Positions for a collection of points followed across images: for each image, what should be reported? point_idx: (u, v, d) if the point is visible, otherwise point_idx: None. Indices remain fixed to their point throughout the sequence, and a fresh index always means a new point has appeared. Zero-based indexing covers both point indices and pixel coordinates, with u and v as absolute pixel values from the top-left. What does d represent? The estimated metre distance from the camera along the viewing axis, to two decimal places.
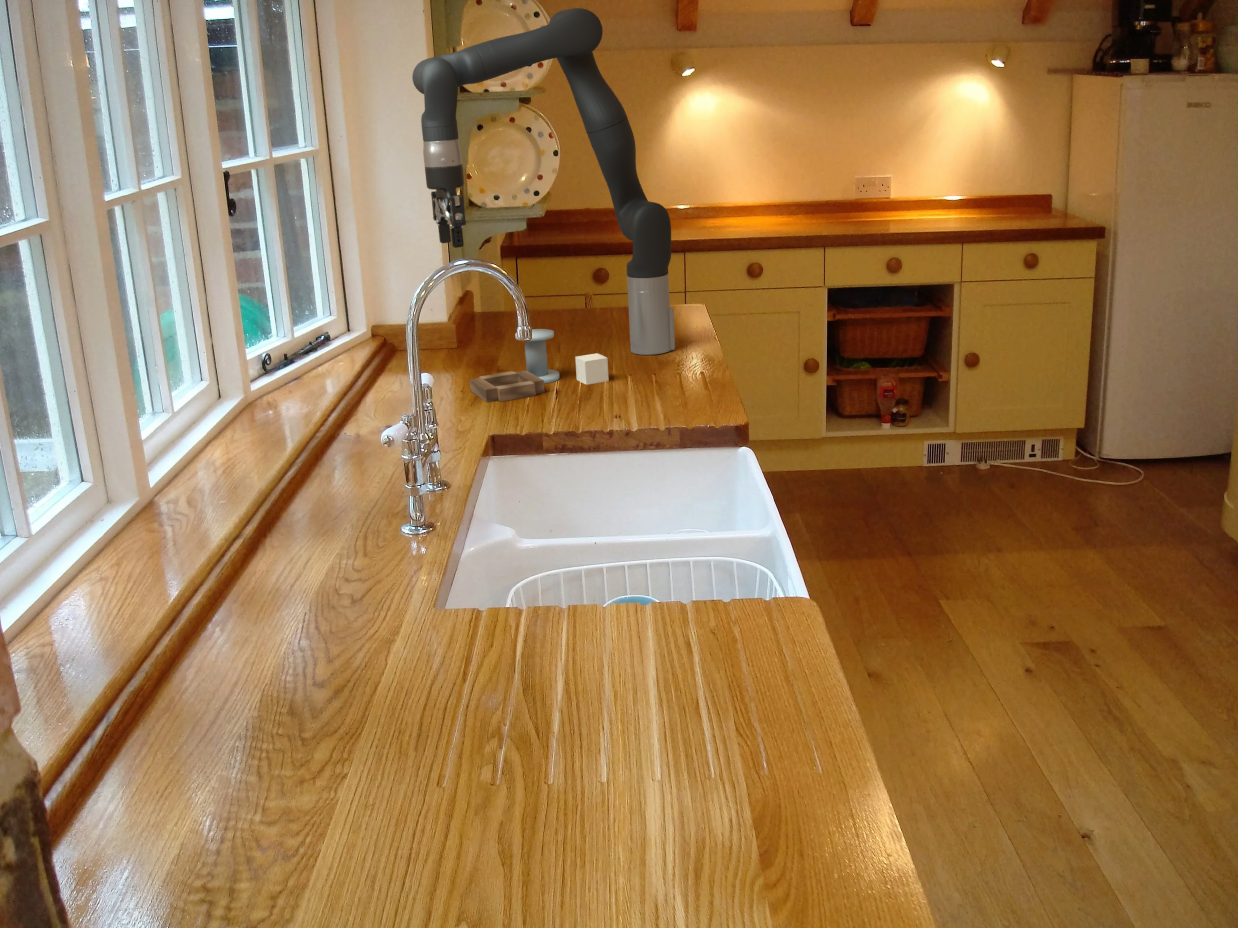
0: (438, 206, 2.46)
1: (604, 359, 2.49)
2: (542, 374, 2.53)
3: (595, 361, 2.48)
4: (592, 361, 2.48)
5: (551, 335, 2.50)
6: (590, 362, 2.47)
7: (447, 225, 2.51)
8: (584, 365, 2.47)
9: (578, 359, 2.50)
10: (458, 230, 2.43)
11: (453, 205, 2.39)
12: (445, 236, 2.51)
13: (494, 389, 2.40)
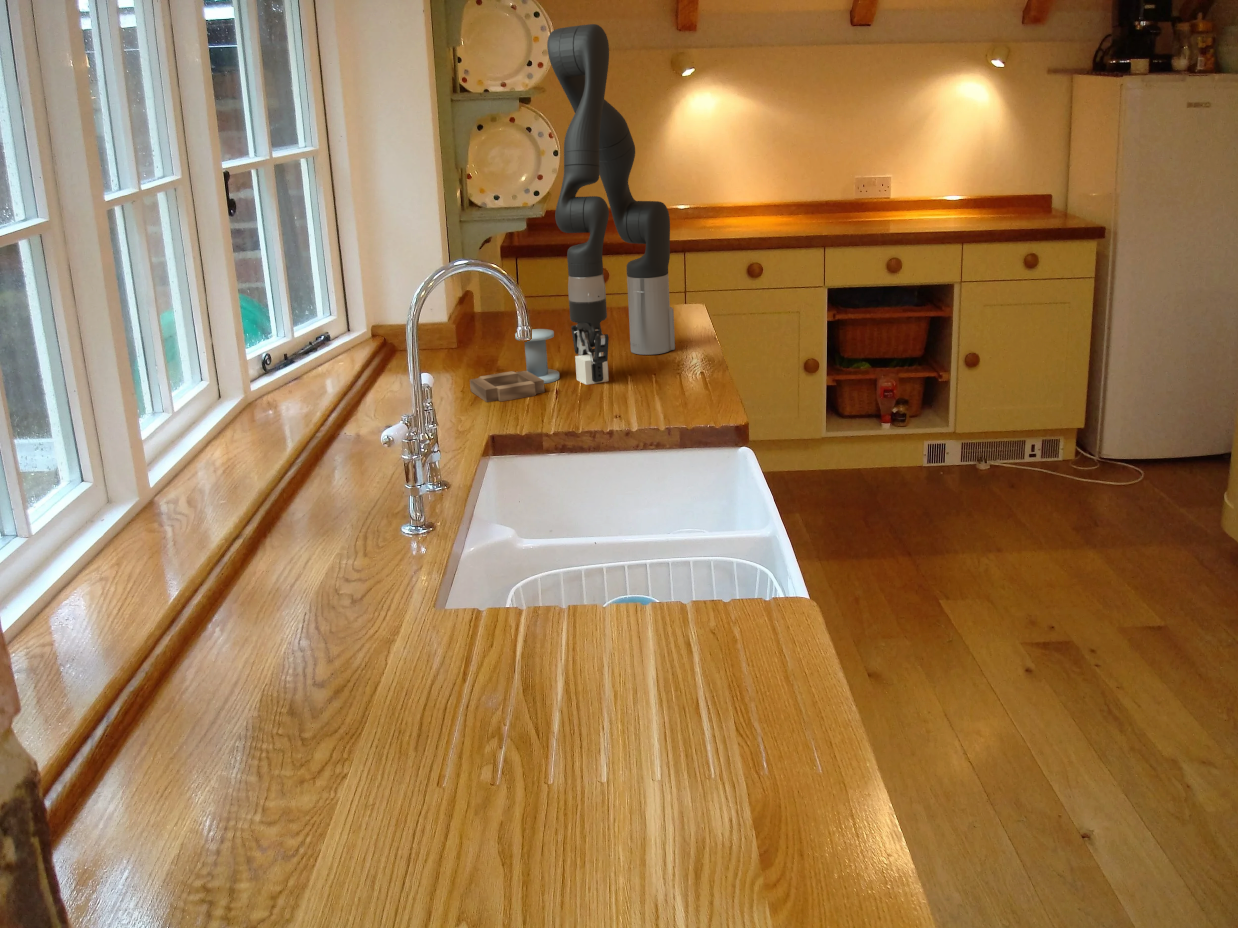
0: (580, 337, 2.49)
1: None
2: (542, 374, 2.53)
3: None
4: None
5: (551, 335, 2.50)
6: (590, 362, 2.47)
7: None
8: (584, 364, 2.47)
9: (578, 359, 2.50)
10: (599, 365, 2.47)
11: (598, 345, 2.43)
12: None
13: (494, 389, 2.40)
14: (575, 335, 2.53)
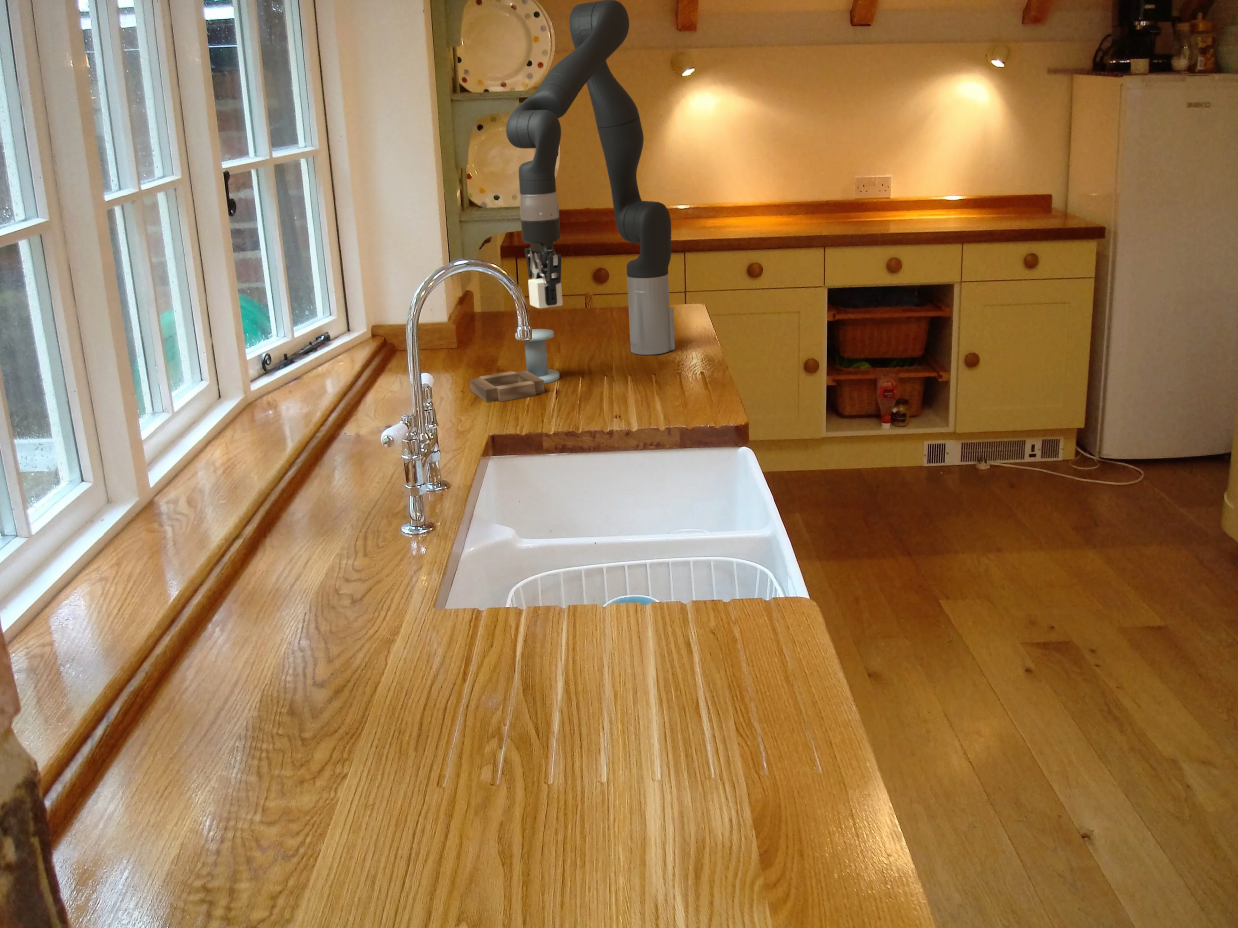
0: (533, 259, 2.40)
1: None
2: (542, 374, 2.53)
3: None
4: None
5: (551, 335, 2.50)
6: (543, 284, 2.38)
7: None
8: (536, 287, 2.39)
9: (531, 282, 2.41)
10: (552, 288, 2.38)
11: (551, 265, 2.34)
12: None
13: (494, 389, 2.40)
14: (529, 258, 2.44)
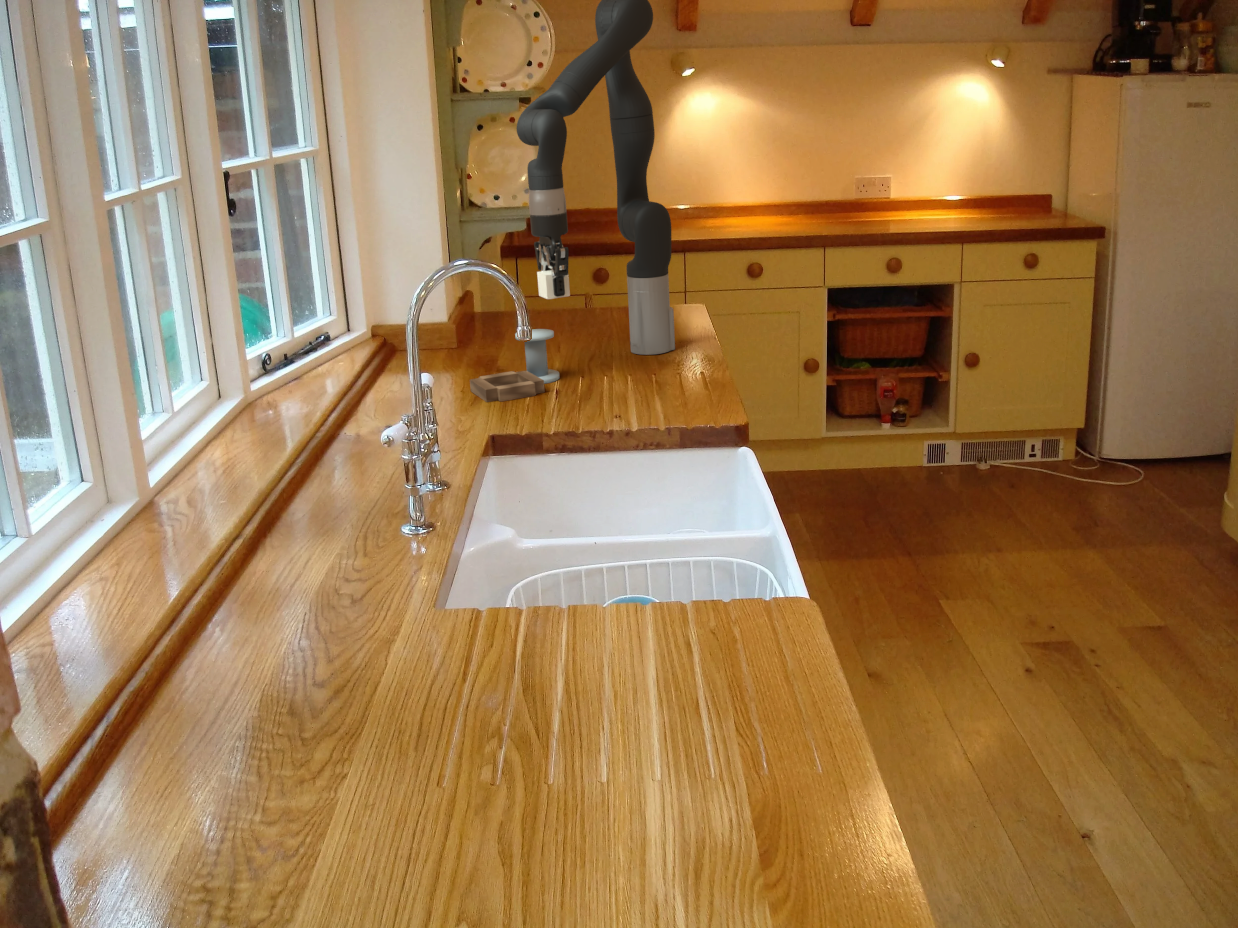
0: (542, 252, 2.51)
1: None
2: (542, 374, 2.53)
3: None
4: None
5: (551, 335, 2.50)
6: (551, 276, 2.49)
7: None
8: (545, 279, 2.49)
9: (539, 274, 2.51)
10: (560, 279, 2.49)
11: (558, 258, 2.44)
12: None
13: (494, 389, 2.40)
14: (538, 251, 2.54)
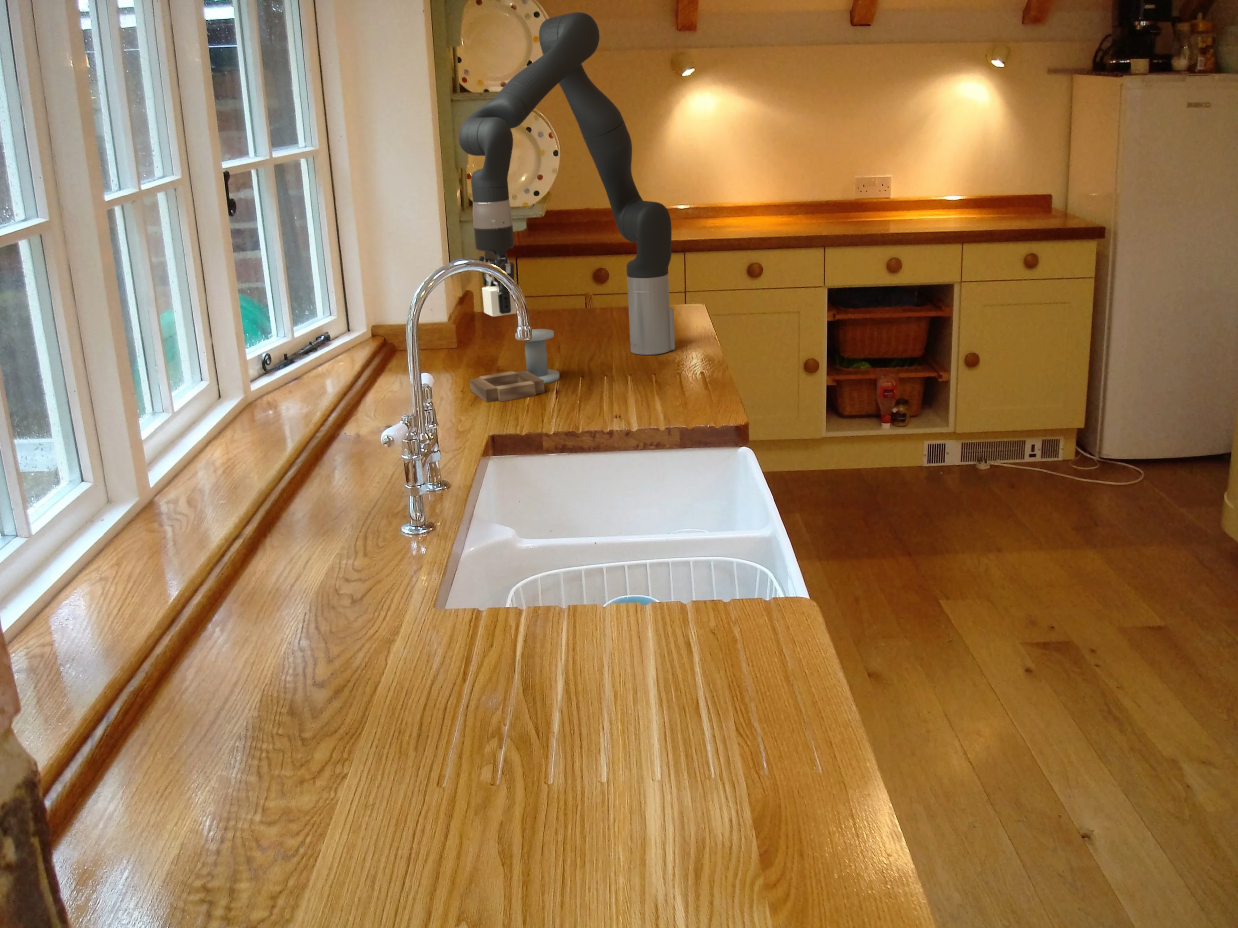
0: None
1: None
2: (542, 374, 2.53)
3: None
4: None
5: (551, 335, 2.50)
6: (496, 292, 2.37)
7: None
8: (490, 295, 2.37)
9: (484, 290, 2.39)
10: (506, 296, 2.37)
11: None
12: None
13: (494, 389, 2.40)
14: None
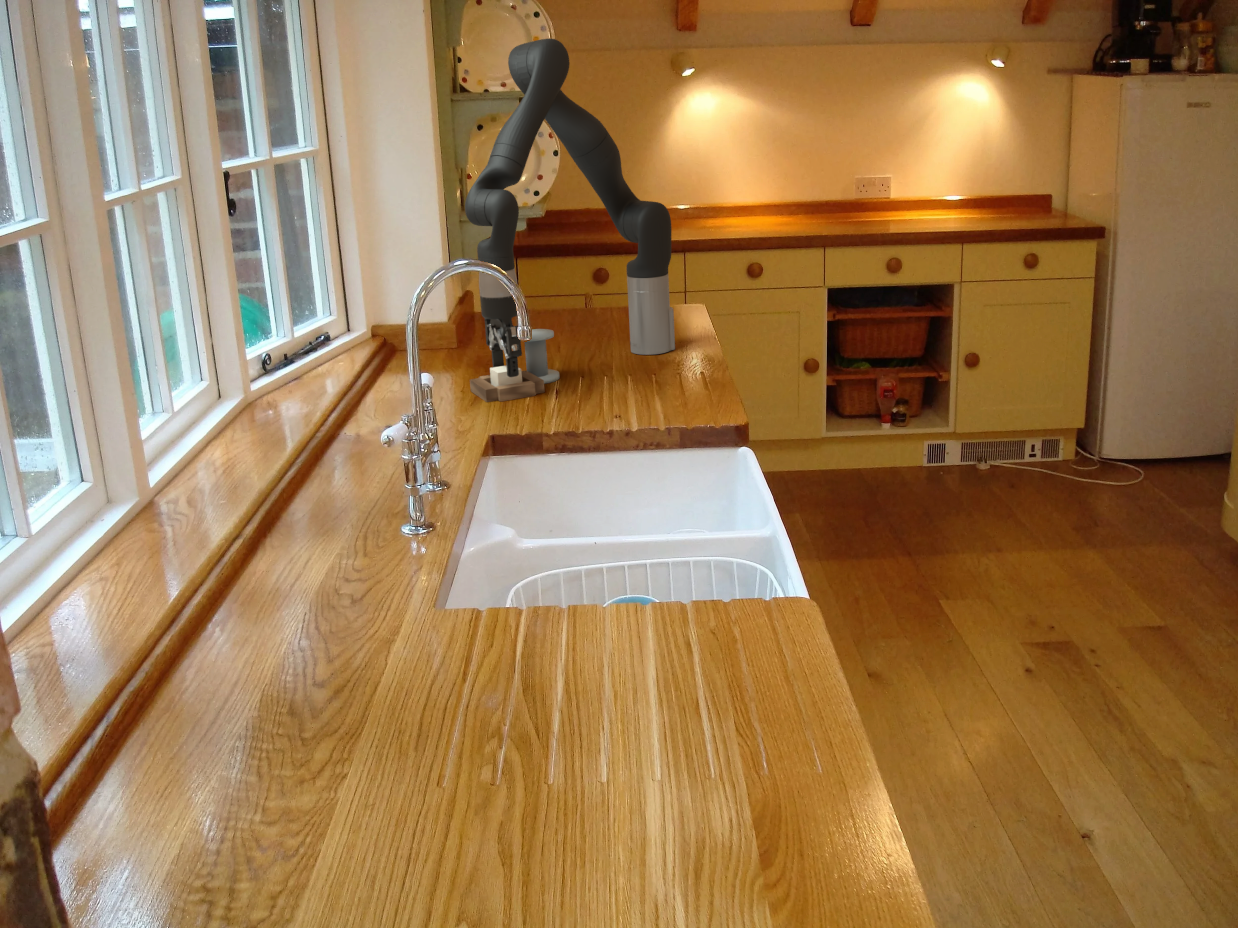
0: (492, 334, 2.43)
1: None
2: (542, 374, 2.53)
3: None
4: (505, 373, 2.42)
5: (551, 335, 2.50)
6: (503, 374, 2.42)
7: (500, 351, 2.48)
8: (497, 376, 2.42)
9: (492, 370, 2.45)
10: (514, 360, 2.39)
11: (509, 336, 2.36)
12: (498, 361, 2.48)
13: (494, 389, 2.40)
14: (488, 328, 2.47)
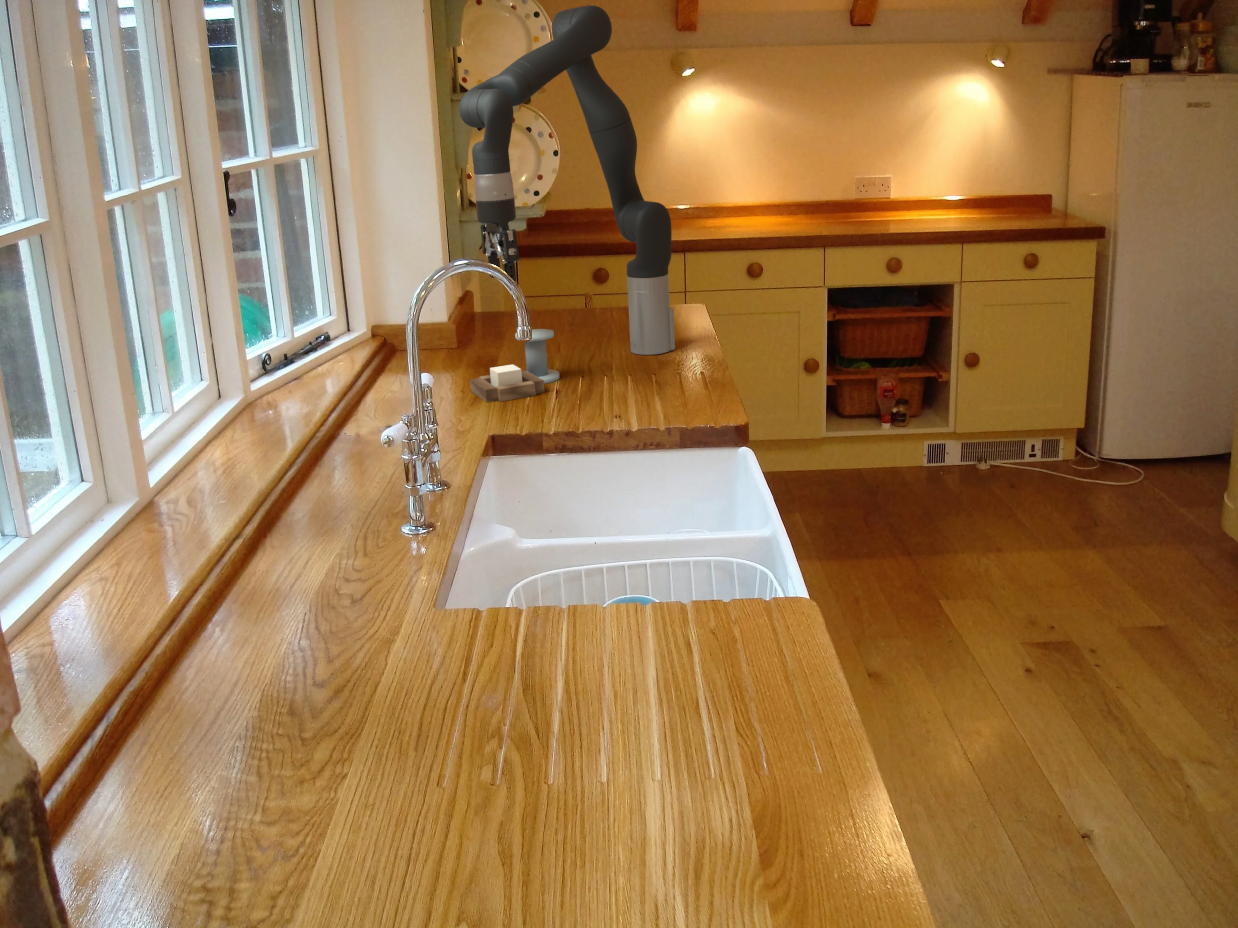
0: (489, 240, 2.39)
1: (518, 371, 2.43)
2: (542, 374, 2.53)
3: (508, 373, 2.42)
4: (505, 373, 2.42)
5: (551, 335, 2.50)
6: (503, 374, 2.42)
7: (497, 259, 2.43)
8: (497, 376, 2.42)
9: (492, 370, 2.45)
10: (511, 265, 2.35)
11: (506, 240, 2.32)
12: None
13: (494, 389, 2.40)
14: (484, 235, 2.43)
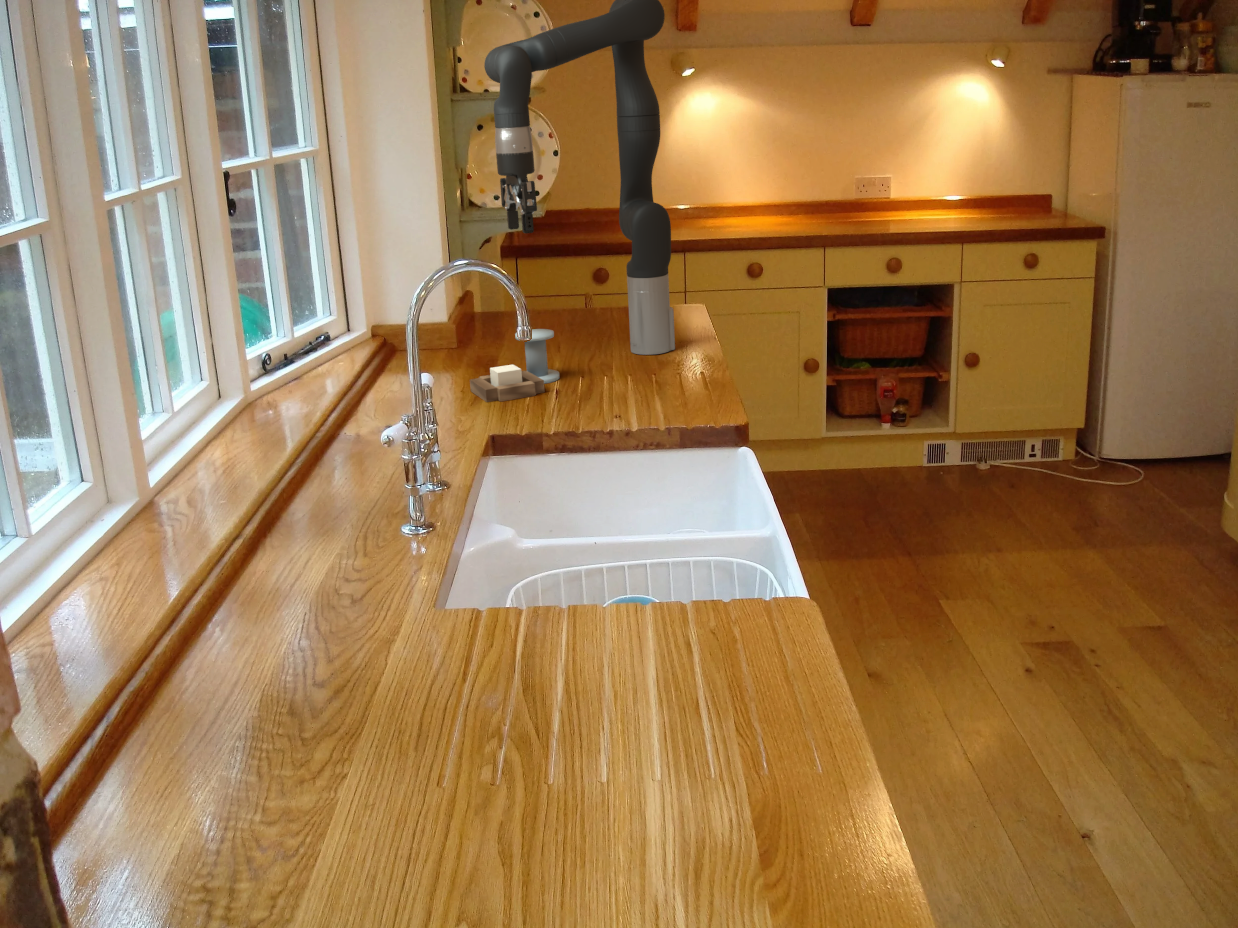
0: (508, 192, 2.49)
1: (518, 370, 2.43)
2: (542, 374, 2.53)
3: (508, 373, 2.42)
4: (505, 373, 2.42)
5: (551, 335, 2.50)
6: (503, 374, 2.42)
7: (516, 211, 2.54)
8: (497, 376, 2.42)
9: (492, 370, 2.45)
10: (529, 216, 2.45)
11: (525, 191, 2.42)
12: (513, 222, 2.54)
13: (494, 389, 2.40)
14: (503, 189, 2.53)
